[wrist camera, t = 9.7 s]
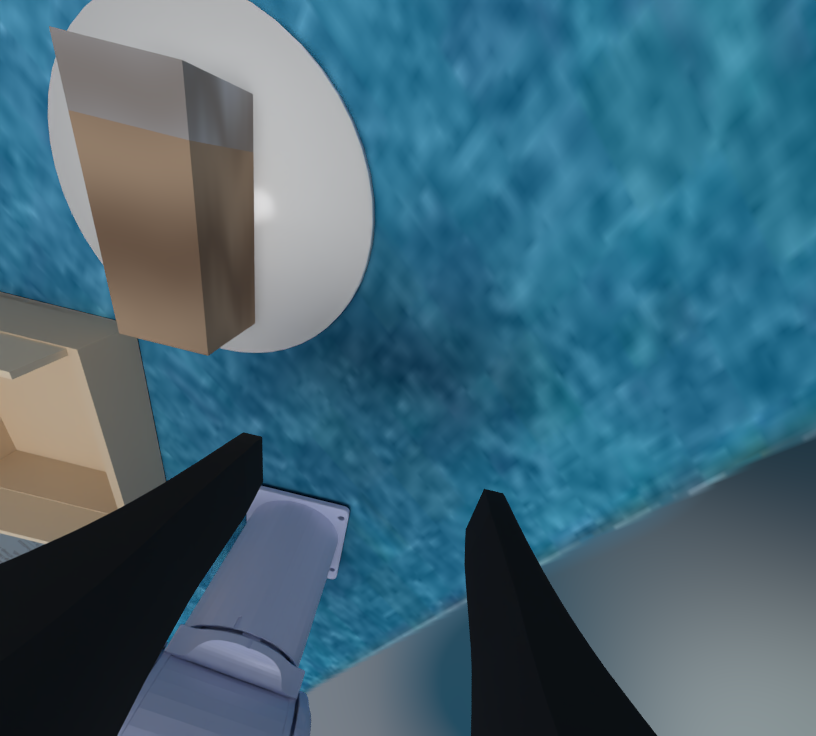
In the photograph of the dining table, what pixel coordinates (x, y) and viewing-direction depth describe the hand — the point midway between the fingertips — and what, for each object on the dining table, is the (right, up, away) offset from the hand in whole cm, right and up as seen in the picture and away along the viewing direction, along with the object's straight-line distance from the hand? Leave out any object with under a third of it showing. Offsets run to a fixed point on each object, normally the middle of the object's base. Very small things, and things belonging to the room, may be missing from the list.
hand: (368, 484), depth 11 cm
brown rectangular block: (-8, +11, +5) cm, 14 cm away
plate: (-8, +12, +5) cm, 15 cm away
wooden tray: (-23, +2, +13) cm, 26 cm away
